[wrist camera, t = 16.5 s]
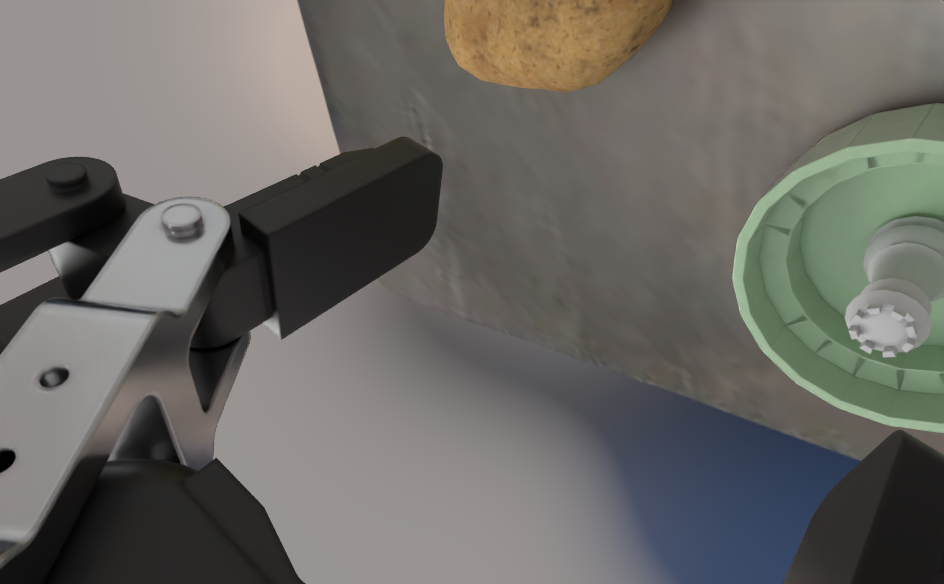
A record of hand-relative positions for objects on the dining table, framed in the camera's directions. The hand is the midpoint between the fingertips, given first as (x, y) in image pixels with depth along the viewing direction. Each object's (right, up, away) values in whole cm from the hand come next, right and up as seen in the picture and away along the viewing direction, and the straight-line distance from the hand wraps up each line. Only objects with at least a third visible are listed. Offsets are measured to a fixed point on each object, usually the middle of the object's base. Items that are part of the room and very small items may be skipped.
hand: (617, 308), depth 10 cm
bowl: (+21, +3, +22) cm, 31 cm away
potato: (+5, +18, +27) cm, 33 cm away
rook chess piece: (+21, +2, +22) cm, 30 cm away
